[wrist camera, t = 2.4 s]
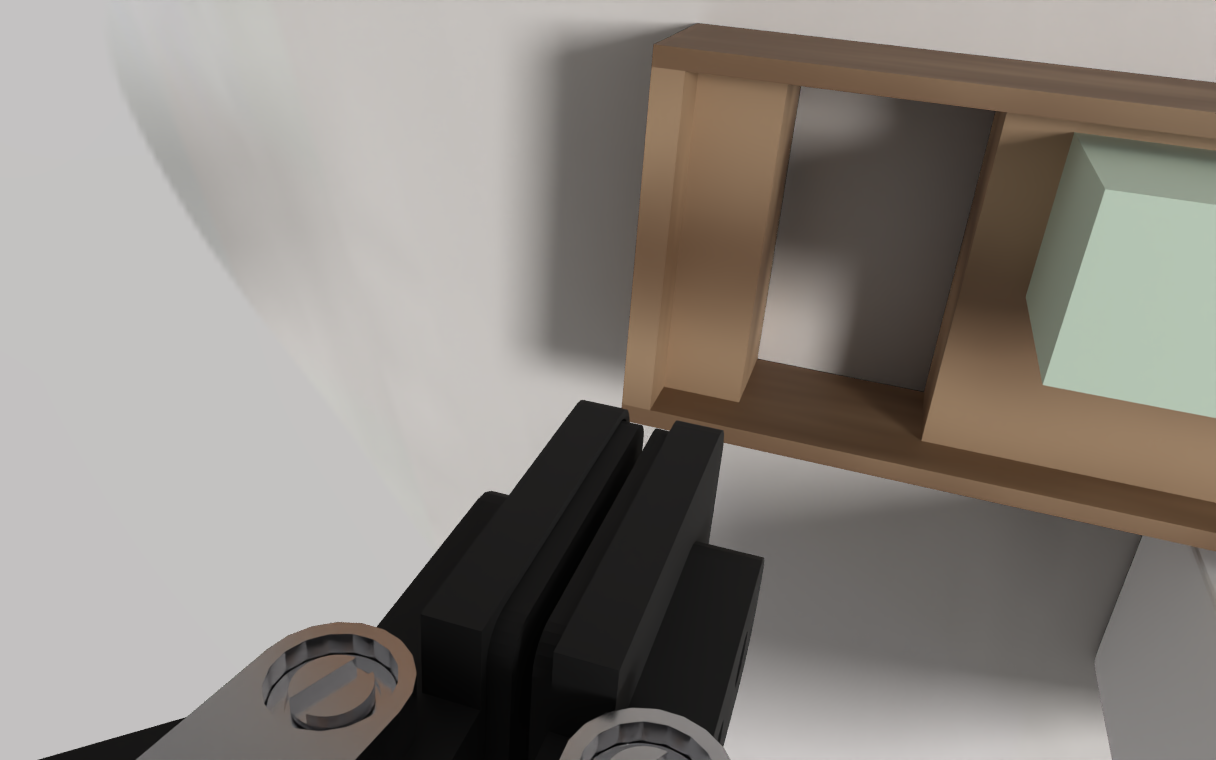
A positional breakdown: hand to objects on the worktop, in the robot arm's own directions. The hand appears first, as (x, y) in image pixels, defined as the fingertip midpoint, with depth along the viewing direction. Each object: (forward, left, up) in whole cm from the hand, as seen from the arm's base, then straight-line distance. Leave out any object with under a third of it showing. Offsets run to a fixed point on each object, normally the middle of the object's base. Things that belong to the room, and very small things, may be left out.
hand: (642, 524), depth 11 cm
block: (0, +8, -15) cm, 17 cm away
